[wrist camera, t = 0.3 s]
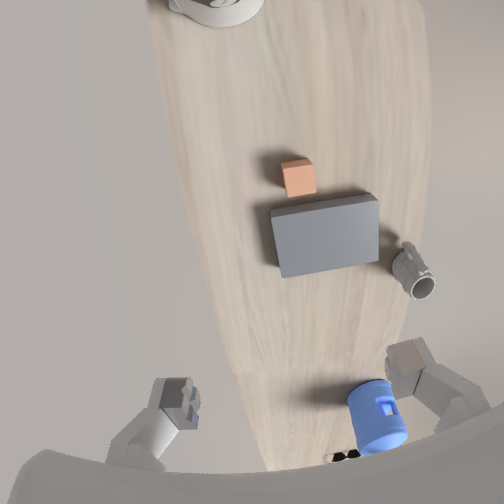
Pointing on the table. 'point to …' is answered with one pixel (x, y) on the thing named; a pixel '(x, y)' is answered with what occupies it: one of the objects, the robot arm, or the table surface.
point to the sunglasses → (342, 456)
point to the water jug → (375, 418)
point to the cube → (298, 177)
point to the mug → (413, 273)
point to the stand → (326, 234)
